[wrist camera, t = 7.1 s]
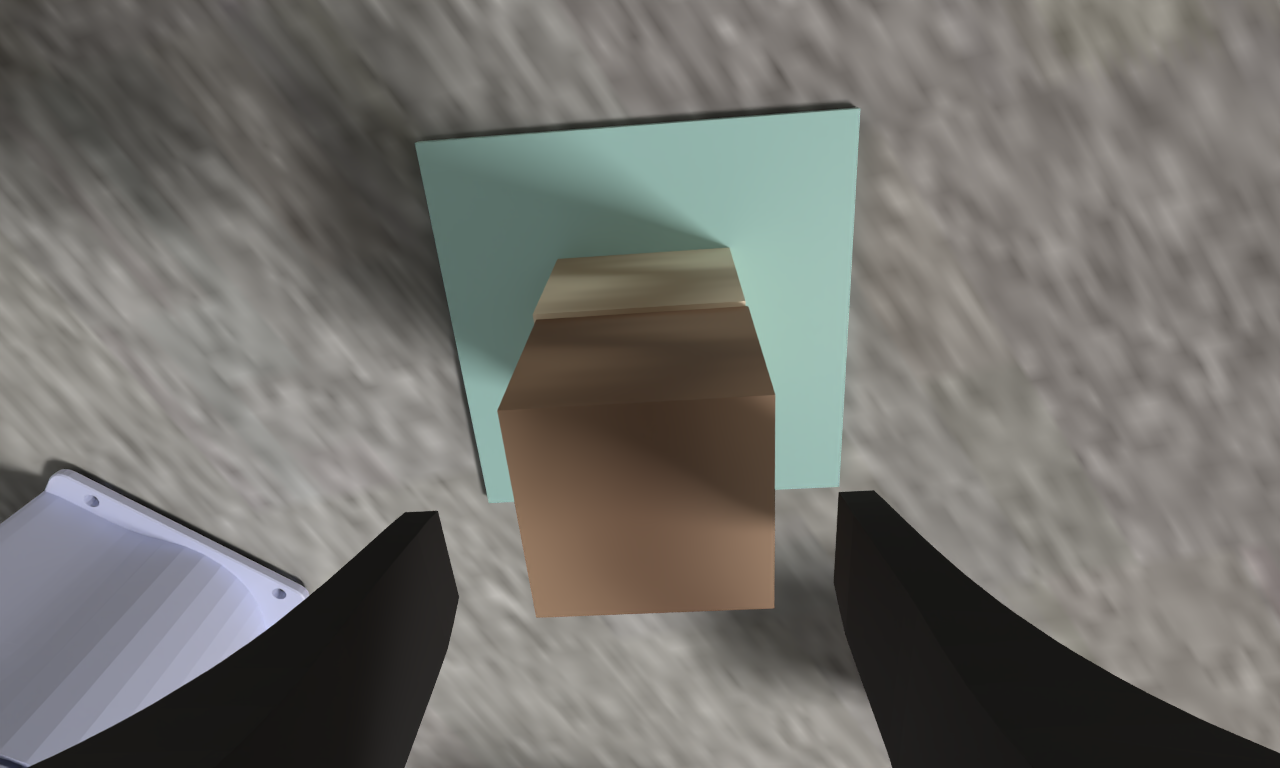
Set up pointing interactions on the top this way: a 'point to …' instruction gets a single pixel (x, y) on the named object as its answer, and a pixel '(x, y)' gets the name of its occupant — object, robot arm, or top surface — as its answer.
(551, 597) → the walnut block
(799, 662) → the top surface
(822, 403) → the mat
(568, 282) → the maple block
